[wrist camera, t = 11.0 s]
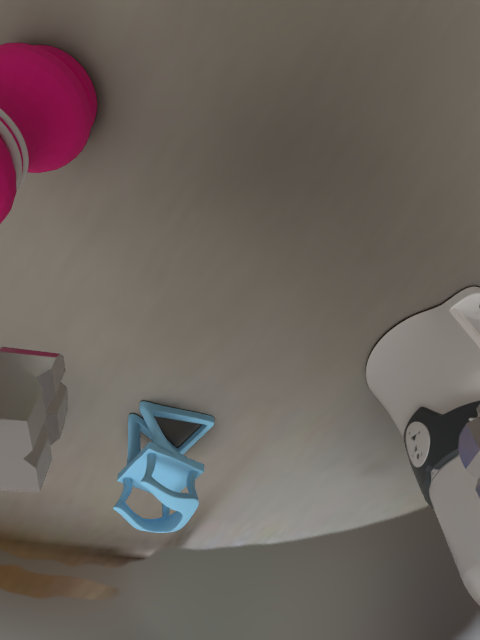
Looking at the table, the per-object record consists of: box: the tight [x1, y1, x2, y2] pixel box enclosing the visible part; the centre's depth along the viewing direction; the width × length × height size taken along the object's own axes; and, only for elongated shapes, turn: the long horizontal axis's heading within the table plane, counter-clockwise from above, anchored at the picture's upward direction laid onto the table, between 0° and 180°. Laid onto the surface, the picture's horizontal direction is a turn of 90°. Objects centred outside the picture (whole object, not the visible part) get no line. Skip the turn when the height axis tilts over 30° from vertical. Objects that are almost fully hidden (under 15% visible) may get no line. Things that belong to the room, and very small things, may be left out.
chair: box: [113, 401, 214, 533], centre depth 48 cm, size 8×8×12 cm
